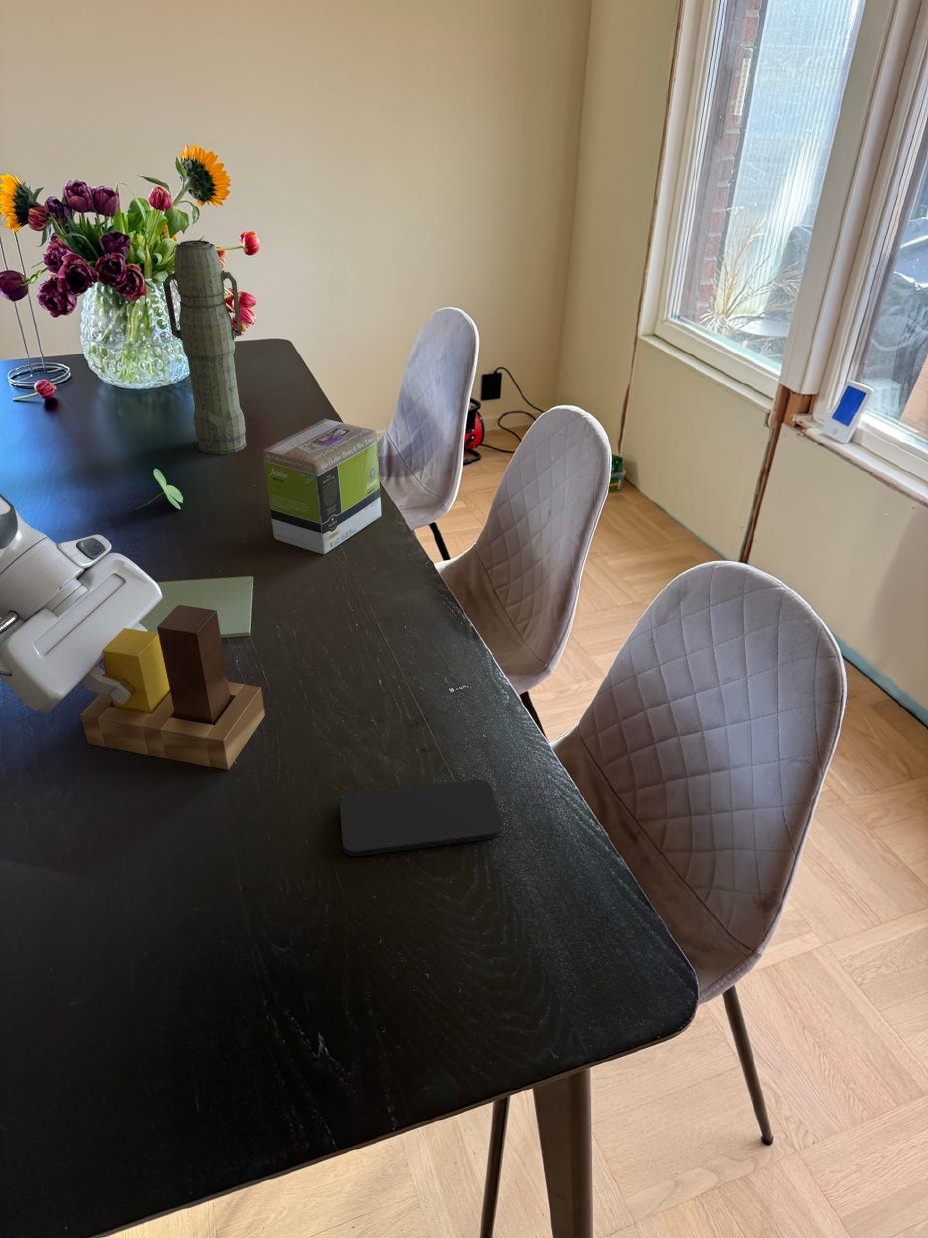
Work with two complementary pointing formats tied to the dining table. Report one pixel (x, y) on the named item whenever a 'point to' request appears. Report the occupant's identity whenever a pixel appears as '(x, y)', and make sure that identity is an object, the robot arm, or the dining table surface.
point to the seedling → (167, 490)
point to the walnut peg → (195, 664)
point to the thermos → (208, 344)
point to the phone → (418, 817)
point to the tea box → (323, 484)
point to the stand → (177, 729)
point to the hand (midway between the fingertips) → (144, 681)
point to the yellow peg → (138, 668)
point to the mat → (208, 602)
